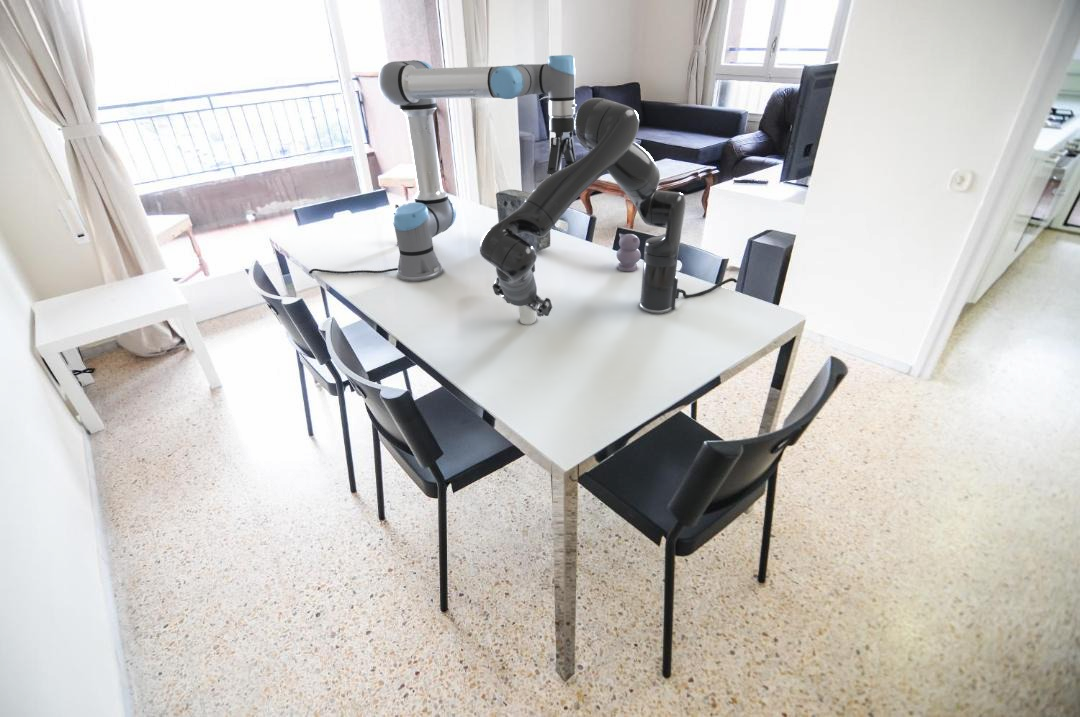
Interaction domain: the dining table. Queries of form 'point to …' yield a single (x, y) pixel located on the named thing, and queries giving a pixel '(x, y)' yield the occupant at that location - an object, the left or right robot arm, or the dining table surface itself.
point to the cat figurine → (628, 252)
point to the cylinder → (526, 315)
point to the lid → (533, 268)
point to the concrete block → (510, 203)
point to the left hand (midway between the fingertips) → (562, 191)
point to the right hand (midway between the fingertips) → (525, 306)
